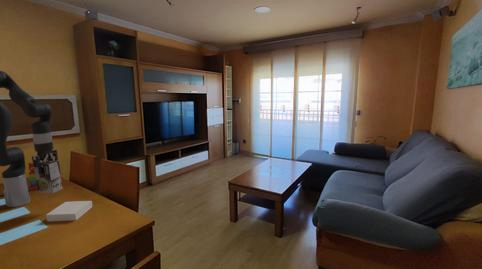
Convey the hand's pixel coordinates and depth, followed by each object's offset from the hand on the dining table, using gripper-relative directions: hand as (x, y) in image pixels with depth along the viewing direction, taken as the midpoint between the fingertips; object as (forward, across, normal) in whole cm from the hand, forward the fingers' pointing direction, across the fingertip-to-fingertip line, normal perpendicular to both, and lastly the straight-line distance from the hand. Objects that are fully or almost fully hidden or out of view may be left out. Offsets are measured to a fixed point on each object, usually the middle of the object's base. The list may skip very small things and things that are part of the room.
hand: (47, 171), depth 121 cm
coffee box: (+11, 0, 0) cm, 11 cm away
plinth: (+22, +6, +13) cm, 26 cm away
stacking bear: (+22, -32, -33) cm, 51 cm away
